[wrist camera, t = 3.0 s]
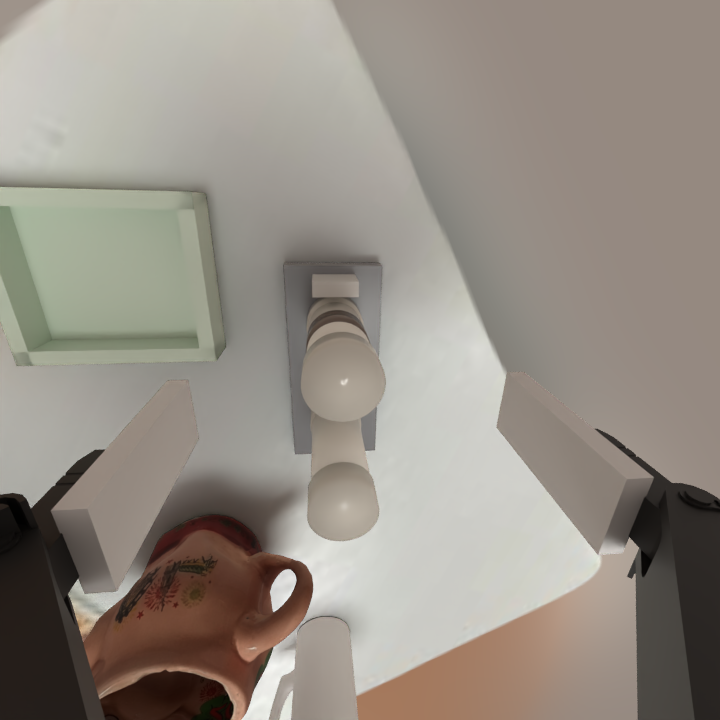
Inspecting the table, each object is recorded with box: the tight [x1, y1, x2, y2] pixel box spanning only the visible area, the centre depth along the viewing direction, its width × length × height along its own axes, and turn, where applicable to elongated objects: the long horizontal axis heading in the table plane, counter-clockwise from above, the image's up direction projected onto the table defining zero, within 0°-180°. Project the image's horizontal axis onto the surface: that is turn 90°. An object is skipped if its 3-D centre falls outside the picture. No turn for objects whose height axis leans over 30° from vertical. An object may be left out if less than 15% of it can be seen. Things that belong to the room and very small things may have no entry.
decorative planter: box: [83, 515, 313, 720], centre depth 30 cm, size 20×12×14 cm, turn 122°
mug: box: [269, 617, 358, 720], centre depth 38 cm, size 10×7×12 cm, turn 116°
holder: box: [283, 263, 382, 541], centre depth 24 cm, size 7×16×12 cm, turn 179°
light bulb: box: [301, 297, 386, 422], centre depth 22 cm, size 4×4×11 cm
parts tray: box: [0, 187, 226, 366], centre depth 24 cm, size 13×11×3 cm
